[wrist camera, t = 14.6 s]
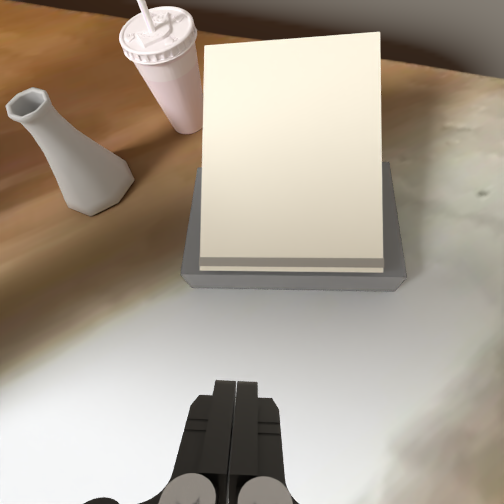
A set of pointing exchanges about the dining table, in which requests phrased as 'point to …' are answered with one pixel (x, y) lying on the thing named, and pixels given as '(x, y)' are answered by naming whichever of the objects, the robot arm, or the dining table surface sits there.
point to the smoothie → (167, 62)
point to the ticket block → (301, 280)
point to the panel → (292, 156)
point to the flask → (72, 155)
